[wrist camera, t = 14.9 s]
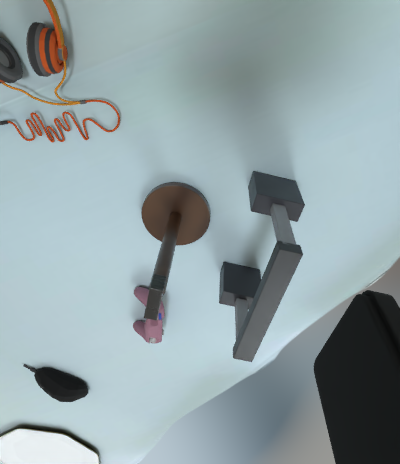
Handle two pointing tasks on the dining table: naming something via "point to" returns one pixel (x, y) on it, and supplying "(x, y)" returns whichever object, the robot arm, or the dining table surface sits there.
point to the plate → (43, 448)
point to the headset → (277, 271)
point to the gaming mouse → (60, 384)
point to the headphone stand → (171, 230)
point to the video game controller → (149, 320)
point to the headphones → (42, 68)
